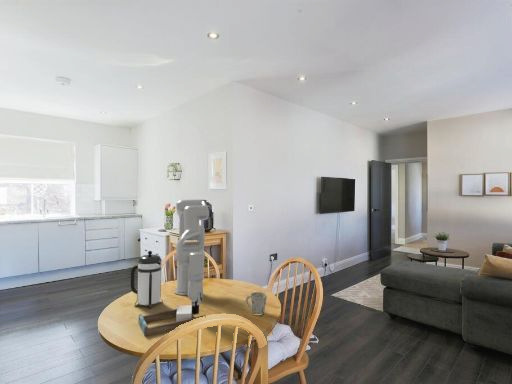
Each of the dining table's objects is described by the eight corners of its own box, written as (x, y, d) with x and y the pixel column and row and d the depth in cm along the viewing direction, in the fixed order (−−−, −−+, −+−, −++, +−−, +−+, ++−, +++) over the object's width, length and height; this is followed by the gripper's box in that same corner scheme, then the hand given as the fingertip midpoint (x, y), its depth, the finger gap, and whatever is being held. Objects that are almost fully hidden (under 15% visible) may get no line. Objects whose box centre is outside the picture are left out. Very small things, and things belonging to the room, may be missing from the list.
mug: (261, 318, 144) (261, 298, 145) (240, 312, 151) (241, 293, 151) (269, 312, 152) (269, 294, 152) (249, 307, 158) (249, 289, 158)
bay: (138, 322, 137) (138, 314, 137) (194, 311, 152) (194, 303, 152) (144, 336, 124) (144, 327, 124) (205, 322, 139) (205, 313, 139)
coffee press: (161, 297, 171) (163, 247, 171) (163, 307, 156) (164, 252, 156) (130, 301, 165) (131, 248, 165) (128, 311, 150) (130, 254, 150)
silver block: (177, 315, 146) (177, 306, 146) (191, 315, 147) (191, 305, 147) (176, 324, 136) (176, 314, 136) (191, 323, 138) (191, 313, 138)
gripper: (184, 274, 149) (183, 309, 148) (194, 281, 136) (193, 320, 136) (197, 272, 153) (197, 306, 152) (208, 279, 140) (208, 317, 140)
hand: (195, 313), depth 144 cm, fingers closed
